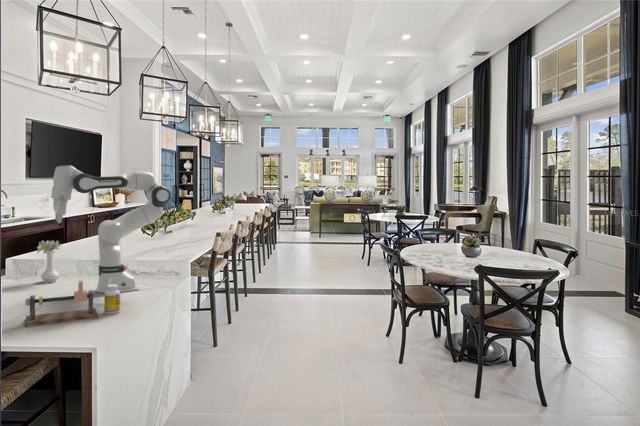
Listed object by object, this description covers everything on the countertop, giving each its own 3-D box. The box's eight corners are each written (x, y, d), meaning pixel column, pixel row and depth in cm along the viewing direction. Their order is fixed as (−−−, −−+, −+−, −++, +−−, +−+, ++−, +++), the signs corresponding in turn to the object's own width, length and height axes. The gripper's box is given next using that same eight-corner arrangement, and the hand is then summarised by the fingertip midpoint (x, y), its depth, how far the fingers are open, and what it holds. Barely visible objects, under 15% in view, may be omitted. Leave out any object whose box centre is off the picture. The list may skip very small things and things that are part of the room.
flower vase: (59, 277, 265) (58, 237, 263) (64, 283, 251) (64, 241, 249) (34, 279, 257) (33, 238, 255) (38, 286, 243) (38, 242, 241)
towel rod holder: (96, 311, 200) (96, 288, 199) (97, 318, 191) (97, 293, 190) (26, 319, 186) (26, 294, 185) (24, 326, 177) (24, 300, 176)
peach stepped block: (86, 298, 195) (86, 279, 194) (87, 300, 191) (87, 281, 190) (74, 299, 192) (74, 280, 191) (74, 302, 188) (74, 282, 188)
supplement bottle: (116, 314, 196) (116, 287, 196) (101, 314, 196) (101, 287, 195) (122, 310, 203) (122, 283, 202) (108, 310, 203) (108, 283, 202)
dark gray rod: (90, 298, 195) (90, 291, 195) (90, 300, 192) (90, 293, 192) (26, 305, 182) (26, 296, 182) (25, 307, 179) (25, 299, 179)
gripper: (70, 197, 215) (67, 224, 216) (65, 194, 231) (62, 219, 232) (56, 196, 211) (53, 223, 212) (52, 193, 228) (49, 218, 228)
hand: (58, 221), depth 222 cm, fingers open, 8 cm apart
